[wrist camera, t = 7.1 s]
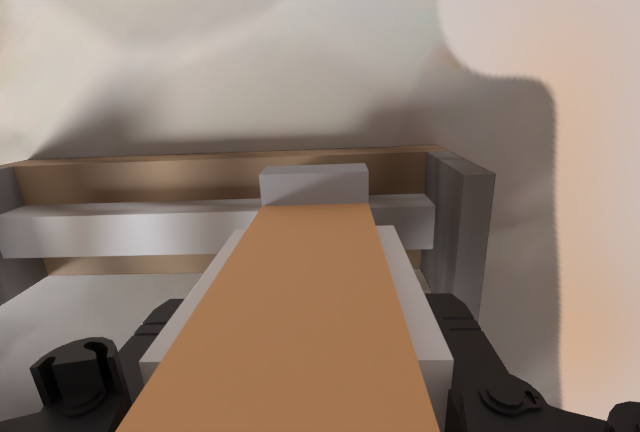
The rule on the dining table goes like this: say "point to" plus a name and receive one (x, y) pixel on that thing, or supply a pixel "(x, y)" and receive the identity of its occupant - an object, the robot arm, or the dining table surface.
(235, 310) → the carriage
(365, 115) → the dining table surface
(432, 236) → the guide rail
